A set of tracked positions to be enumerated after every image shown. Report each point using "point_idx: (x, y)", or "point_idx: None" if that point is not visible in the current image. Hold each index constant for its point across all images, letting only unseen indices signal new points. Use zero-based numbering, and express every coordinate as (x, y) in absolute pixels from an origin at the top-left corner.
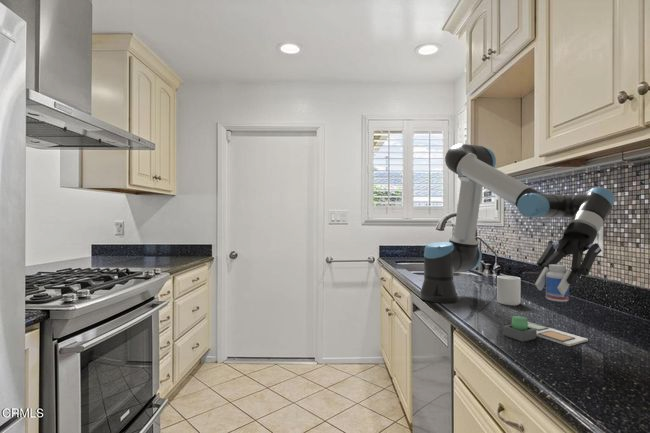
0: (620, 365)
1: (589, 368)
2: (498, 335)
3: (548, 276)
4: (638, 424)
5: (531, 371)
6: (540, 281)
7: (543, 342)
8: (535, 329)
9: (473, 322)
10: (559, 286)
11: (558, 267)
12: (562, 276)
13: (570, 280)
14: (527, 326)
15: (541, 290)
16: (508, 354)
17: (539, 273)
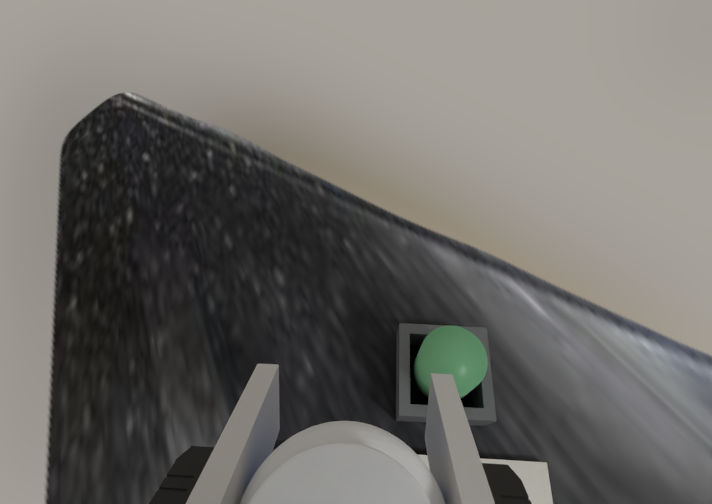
0: (111, 409)
1: (176, 298)
2: (480, 319)
3: (382, 429)
4: (68, 137)
5: (265, 168)
6: (434, 410)
7: (356, 399)
8: (399, 408)
9: (651, 374)
10: (264, 373)
11: (286, 462)
12: (260, 467)
13: (188, 451)
14: (417, 374)
15: (425, 438)
16: (352, 206)
17: (515, 492)
